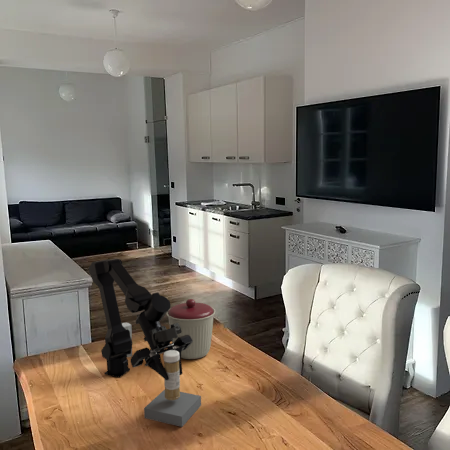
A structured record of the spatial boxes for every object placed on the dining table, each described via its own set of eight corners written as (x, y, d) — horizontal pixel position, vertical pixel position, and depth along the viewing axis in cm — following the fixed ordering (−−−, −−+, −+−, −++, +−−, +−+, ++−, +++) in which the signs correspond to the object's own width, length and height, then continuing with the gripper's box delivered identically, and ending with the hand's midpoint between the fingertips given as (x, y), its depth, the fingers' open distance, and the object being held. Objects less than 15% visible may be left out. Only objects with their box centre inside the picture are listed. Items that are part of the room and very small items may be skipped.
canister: (189, 340, 188) (187, 289, 185) (225, 351, 177) (224, 297, 174) (157, 356, 173) (155, 301, 170) (195, 368, 163) (193, 310, 160)
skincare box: (117, 360, 170) (115, 328, 169) (113, 356, 174) (111, 324, 172) (133, 356, 174) (131, 324, 172) (128, 352, 177) (127, 321, 176)
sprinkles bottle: (172, 391, 138) (171, 348, 136) (183, 396, 135) (182, 352, 133) (161, 397, 135) (159, 353, 133) (172, 402, 132) (171, 357, 130)
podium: (144, 418, 132) (144, 408, 132) (165, 397, 143) (165, 388, 143) (182, 426, 128) (181, 416, 127) (201, 405, 139) (200, 395, 138)
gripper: (134, 323, 128) (157, 375, 122) (188, 308, 140) (212, 355, 134) (121, 342, 135) (142, 392, 129) (174, 326, 148) (196, 371, 141)
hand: (174, 377), depth 133 cm, fingers closed on sprinkles bottle, 4 cm apart
